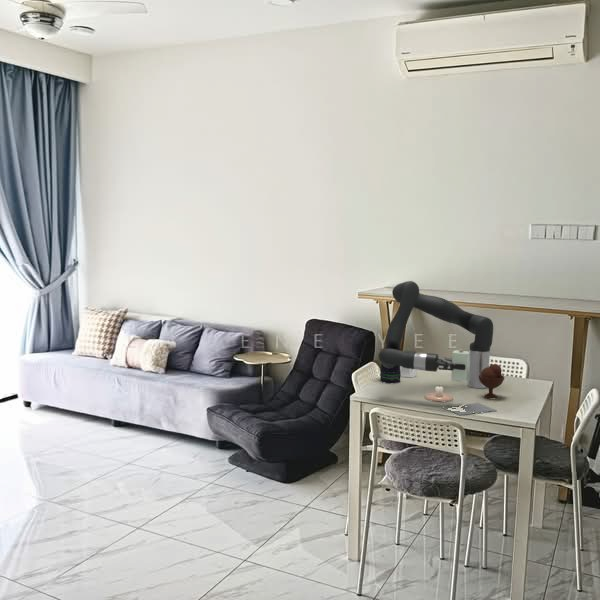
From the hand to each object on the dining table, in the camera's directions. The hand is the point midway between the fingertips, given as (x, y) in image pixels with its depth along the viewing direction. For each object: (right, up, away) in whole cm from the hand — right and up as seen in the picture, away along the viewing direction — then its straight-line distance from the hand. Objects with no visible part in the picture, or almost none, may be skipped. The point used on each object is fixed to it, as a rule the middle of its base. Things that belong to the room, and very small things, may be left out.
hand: (466, 365), depth 280 cm
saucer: (-8, -16, +16) cm, 24 cm away
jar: (-15, -11, +58) cm, 61 cm away
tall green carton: (-2, -6, +2) cm, 7 cm away
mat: (+1, -18, -1) cm, 18 cm away
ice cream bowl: (+15, -16, +19) cm, 29 cm away
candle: (-8, -15, +16) cm, 23 cm away
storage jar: (-25, -12, +46) cm, 54 cm away
